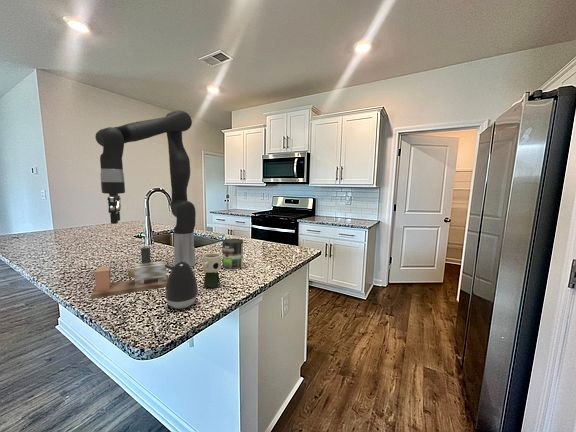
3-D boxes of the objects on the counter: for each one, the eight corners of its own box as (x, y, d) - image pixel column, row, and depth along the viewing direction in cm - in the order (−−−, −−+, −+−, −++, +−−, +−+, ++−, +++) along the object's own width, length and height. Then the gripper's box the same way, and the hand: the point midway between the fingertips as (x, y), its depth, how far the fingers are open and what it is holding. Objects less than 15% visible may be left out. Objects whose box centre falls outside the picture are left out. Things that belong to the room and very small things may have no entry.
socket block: (111, 284, 96) (110, 265, 95) (109, 290, 90) (108, 270, 90) (98, 286, 93) (97, 267, 93) (95, 292, 88) (94, 272, 88)
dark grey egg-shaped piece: (171, 298, 89) (171, 257, 87) (201, 298, 89) (201, 257, 88) (159, 312, 78) (158, 266, 77) (193, 312, 79) (192, 266, 78)
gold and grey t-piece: (165, 271, 104) (164, 245, 102) (166, 273, 101) (165, 247, 100) (128, 275, 97) (127, 248, 96) (128, 278, 94) (127, 250, 93)
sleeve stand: (167, 278, 108) (167, 259, 107) (169, 286, 99) (169, 265, 98) (95, 288, 95) (94, 267, 94) (91, 298, 86) (90, 275, 85)
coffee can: (235, 272, 118) (235, 243, 116) (217, 269, 122) (217, 241, 120) (246, 266, 127) (247, 239, 126) (230, 263, 131) (230, 237, 130)
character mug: (212, 292, 95) (212, 259, 93) (196, 290, 96) (195, 257, 95) (226, 282, 105) (226, 252, 104) (211, 280, 107) (211, 251, 105)
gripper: (122, 181, 91) (125, 224, 93) (125, 181, 104) (128, 219, 106) (97, 180, 88) (101, 225, 90) (103, 181, 100) (106, 220, 102)
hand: (115, 222), depth 98 cm, fingers open, 8 cm apart
